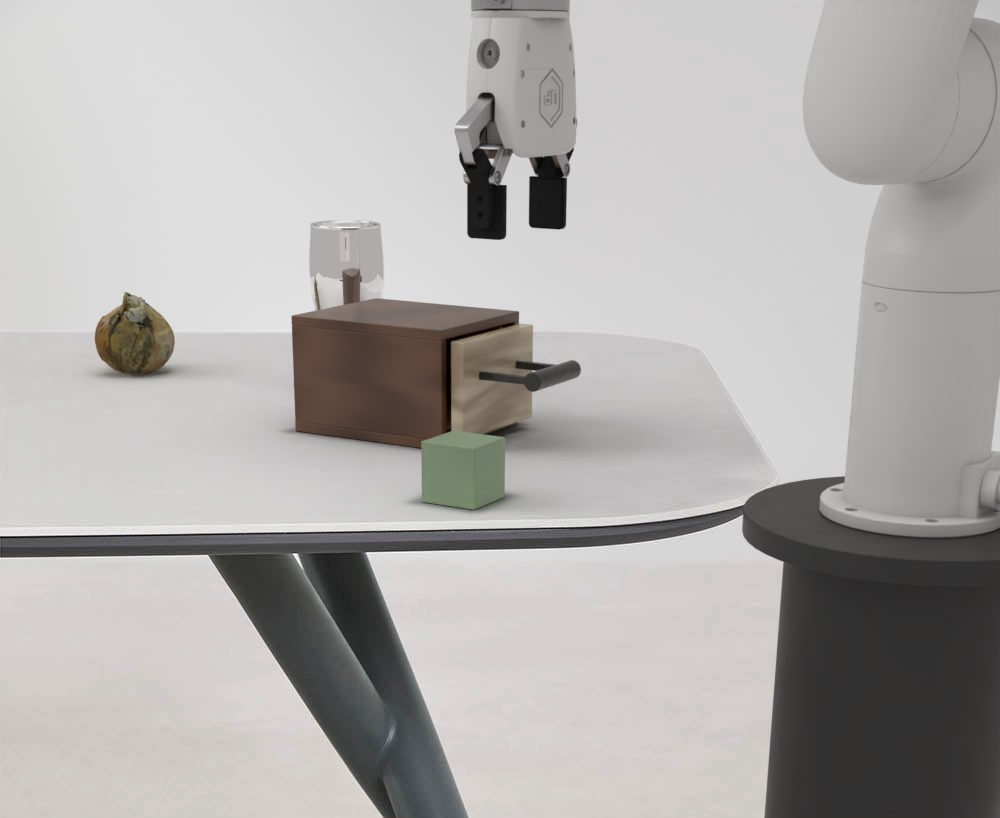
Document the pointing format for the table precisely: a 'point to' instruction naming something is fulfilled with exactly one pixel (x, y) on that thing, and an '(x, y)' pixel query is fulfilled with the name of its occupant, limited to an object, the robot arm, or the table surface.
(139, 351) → the onion
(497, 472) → the block
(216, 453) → the table surface
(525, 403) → the drawer
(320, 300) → the beer glass
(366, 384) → the cabinet
